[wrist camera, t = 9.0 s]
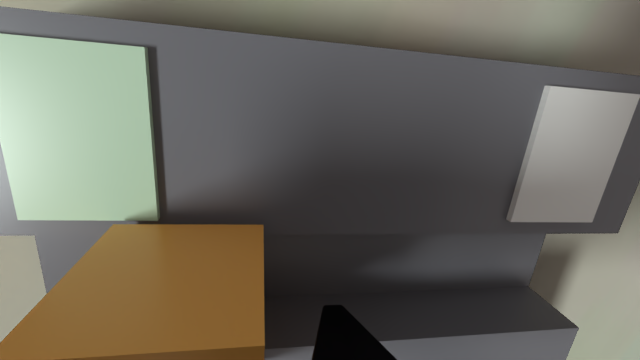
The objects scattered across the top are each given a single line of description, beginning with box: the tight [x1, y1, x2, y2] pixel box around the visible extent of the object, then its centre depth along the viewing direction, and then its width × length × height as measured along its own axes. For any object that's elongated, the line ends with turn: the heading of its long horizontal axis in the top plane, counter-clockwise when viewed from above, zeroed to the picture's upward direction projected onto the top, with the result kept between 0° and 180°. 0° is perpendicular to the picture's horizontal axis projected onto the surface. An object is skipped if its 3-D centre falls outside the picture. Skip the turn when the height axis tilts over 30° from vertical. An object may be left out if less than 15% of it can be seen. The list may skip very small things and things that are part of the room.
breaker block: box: [0, 6, 640, 360], centre depth 12 cm, size 19×14×4 cm
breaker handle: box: [0, 224, 265, 360], centre depth 8 cm, size 4×5×6 cm
